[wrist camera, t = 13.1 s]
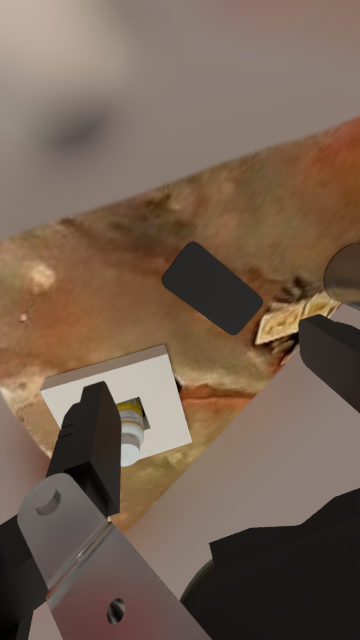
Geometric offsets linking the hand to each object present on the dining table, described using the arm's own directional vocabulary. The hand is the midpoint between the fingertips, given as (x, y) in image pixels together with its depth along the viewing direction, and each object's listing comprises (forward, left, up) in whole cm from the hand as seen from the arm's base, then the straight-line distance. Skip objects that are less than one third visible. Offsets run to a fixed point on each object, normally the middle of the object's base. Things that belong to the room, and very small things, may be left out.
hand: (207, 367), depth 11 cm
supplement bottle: (+10, +22, -27) cm, 36 cm away
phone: (-8, +7, -27) cm, 29 cm away
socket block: (+10, +22, -27) cm, 36 cm away
